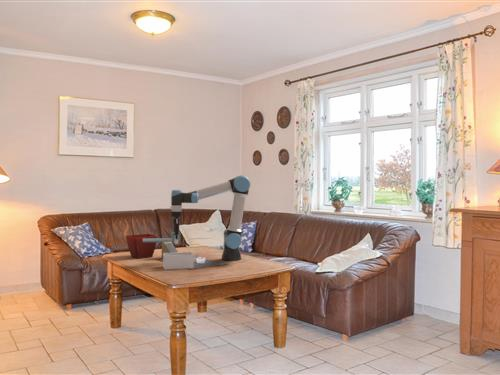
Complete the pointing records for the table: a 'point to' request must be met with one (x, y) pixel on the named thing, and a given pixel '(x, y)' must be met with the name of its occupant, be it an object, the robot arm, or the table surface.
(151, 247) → the plant pot
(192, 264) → the tub
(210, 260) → the table surface
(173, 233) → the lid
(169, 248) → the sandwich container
